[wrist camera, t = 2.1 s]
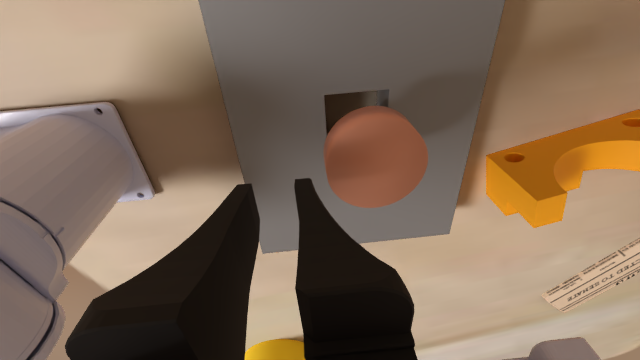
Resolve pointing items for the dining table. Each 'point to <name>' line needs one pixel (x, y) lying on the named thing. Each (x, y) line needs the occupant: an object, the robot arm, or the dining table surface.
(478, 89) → the plate
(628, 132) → the pipe clamp
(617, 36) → the dining table surface
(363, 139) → the knob
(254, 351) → the yellow toilet paper roll
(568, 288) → the newspaper
